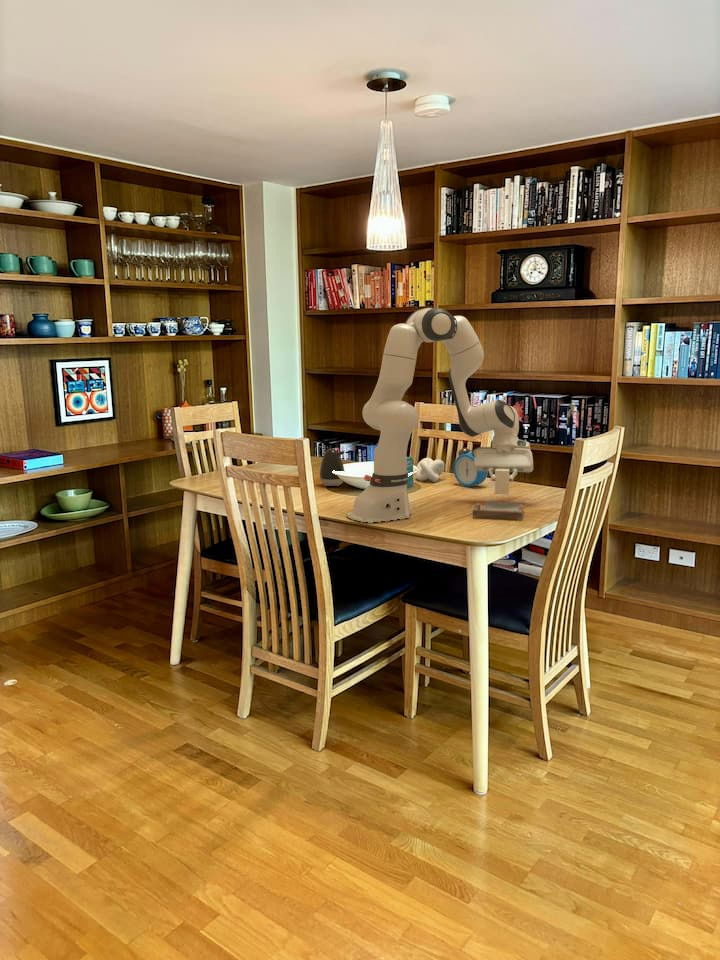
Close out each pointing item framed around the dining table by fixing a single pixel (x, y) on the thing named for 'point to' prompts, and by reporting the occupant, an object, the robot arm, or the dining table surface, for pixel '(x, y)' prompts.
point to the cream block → (502, 480)
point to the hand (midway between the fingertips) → (502, 480)
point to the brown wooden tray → (497, 514)
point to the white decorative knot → (429, 469)
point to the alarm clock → (467, 469)
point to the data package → (410, 469)
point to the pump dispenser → (331, 467)
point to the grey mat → (501, 506)
